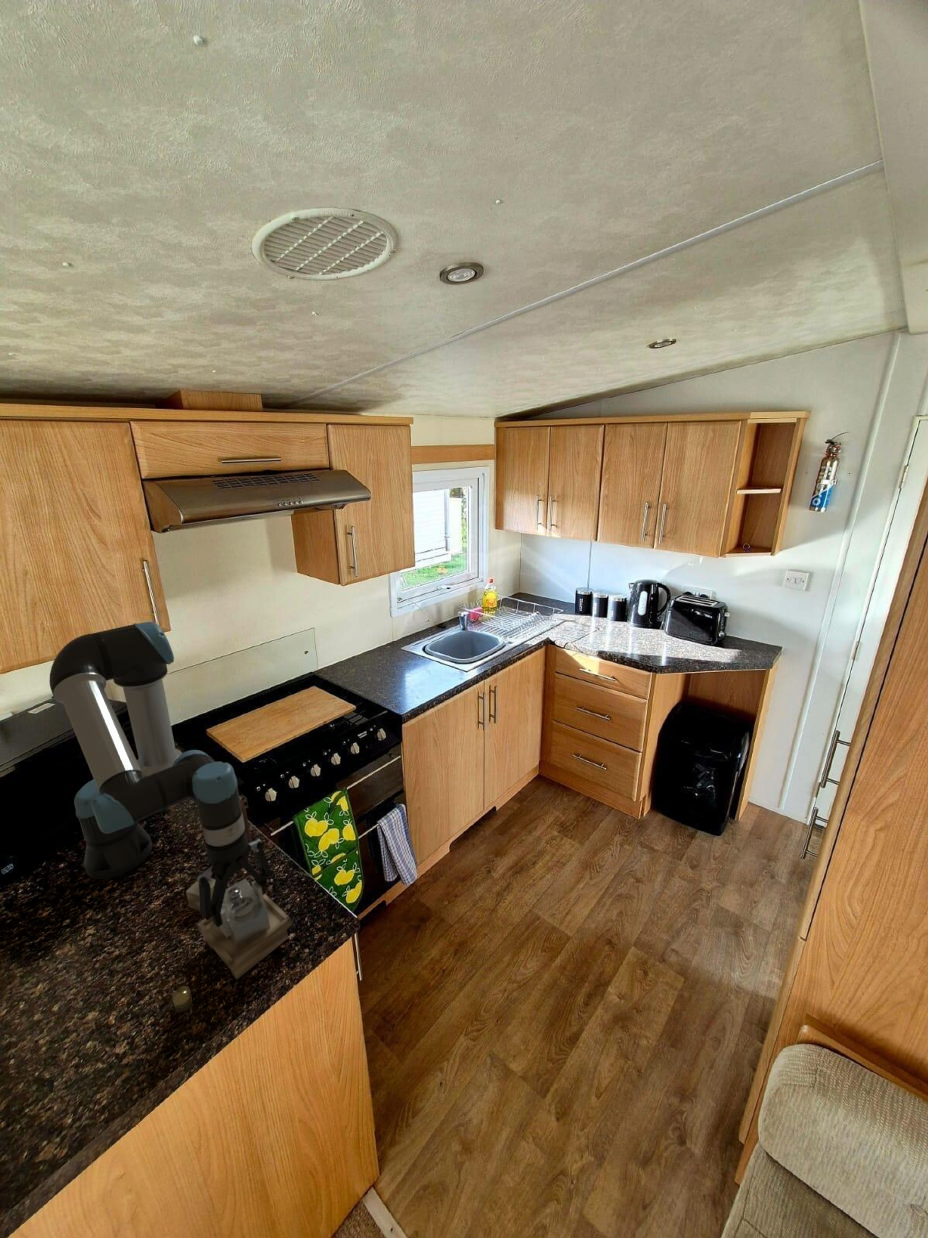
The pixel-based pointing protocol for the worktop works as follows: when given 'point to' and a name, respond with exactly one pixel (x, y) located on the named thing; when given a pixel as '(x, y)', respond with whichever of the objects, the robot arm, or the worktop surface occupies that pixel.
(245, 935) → the housing
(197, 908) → the beech block
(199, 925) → the tray
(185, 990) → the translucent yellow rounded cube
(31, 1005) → the worktop surface
